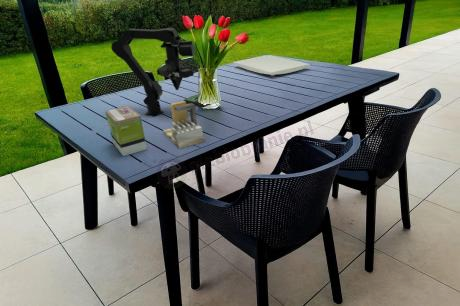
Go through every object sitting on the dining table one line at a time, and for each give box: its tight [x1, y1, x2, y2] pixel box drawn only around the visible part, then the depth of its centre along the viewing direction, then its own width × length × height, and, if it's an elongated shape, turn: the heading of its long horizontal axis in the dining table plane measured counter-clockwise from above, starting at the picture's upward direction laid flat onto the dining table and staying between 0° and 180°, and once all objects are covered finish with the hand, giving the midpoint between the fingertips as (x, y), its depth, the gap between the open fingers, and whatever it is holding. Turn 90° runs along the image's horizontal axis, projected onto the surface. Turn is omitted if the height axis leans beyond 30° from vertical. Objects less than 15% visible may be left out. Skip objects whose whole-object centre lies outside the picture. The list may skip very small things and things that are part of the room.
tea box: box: [105, 105, 148, 157], centre depth 140 cm, size 15×10×15 cm
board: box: [232, 54, 311, 77], centre depth 247 cm, size 45×32×5 cm
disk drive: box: [182, 94, 212, 109], centre depth 189 cm, size 10×3×15 cm
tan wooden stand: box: [162, 103, 206, 149], centre depth 146 cm, size 18×11×14 cm, turn 30°
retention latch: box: [170, 100, 189, 124], centre depth 145 cm, size 6×6×13 cm
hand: (177, 89), depth 171 cm, fingers closed
